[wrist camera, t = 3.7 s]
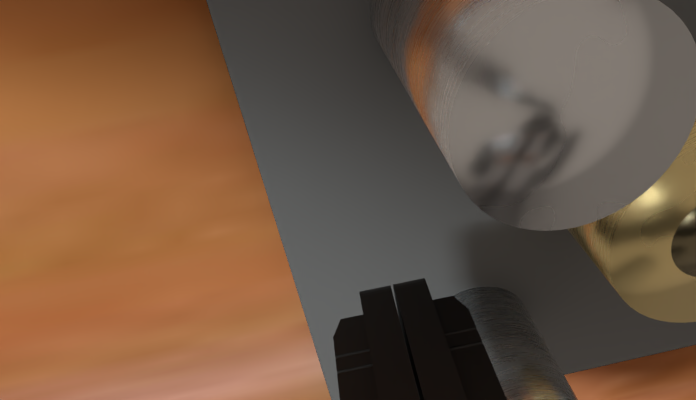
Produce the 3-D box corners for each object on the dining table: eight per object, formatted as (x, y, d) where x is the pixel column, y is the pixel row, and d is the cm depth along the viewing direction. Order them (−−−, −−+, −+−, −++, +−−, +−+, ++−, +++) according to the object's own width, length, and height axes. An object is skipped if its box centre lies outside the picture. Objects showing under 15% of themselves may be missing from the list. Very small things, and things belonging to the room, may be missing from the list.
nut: (534, 89, 15) (614, 160, 11) (724, 46, 15) (863, 104, 11) (540, 245, 17) (608, 343, 14) (703, 207, 17) (812, 296, 14)
